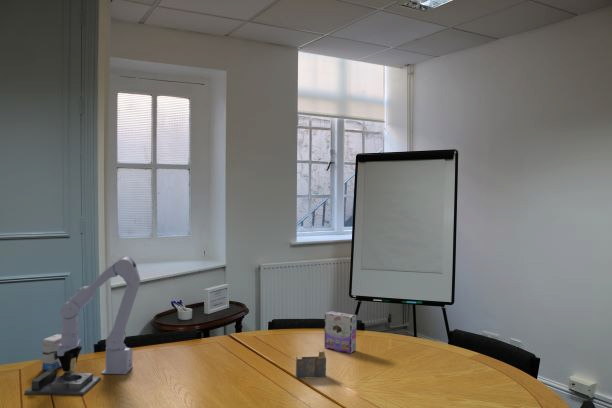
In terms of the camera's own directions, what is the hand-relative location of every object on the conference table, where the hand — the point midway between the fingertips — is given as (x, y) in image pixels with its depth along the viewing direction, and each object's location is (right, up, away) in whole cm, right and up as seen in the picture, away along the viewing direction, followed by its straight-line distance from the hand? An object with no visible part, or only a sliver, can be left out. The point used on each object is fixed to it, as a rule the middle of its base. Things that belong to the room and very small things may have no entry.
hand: (69, 368), depth 183 cm
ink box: (-9, -2, +7) cm, 12 cm away
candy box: (+106, -4, +36) cm, 112 cm away
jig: (+4, -2, -12) cm, 13 cm away
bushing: (0, -2, 0) cm, 2 cm away
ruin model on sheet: (+92, -5, +3) cm, 92 cm away
